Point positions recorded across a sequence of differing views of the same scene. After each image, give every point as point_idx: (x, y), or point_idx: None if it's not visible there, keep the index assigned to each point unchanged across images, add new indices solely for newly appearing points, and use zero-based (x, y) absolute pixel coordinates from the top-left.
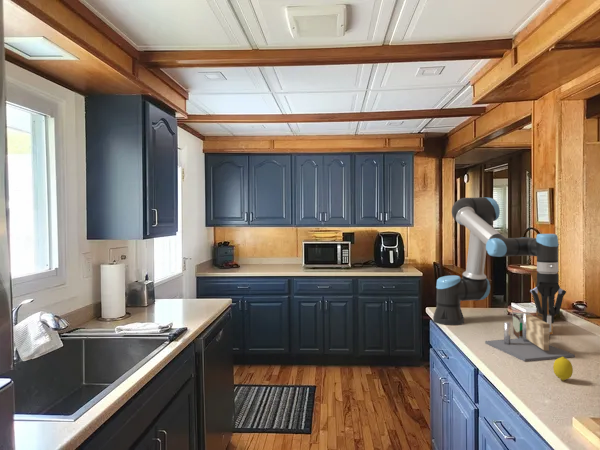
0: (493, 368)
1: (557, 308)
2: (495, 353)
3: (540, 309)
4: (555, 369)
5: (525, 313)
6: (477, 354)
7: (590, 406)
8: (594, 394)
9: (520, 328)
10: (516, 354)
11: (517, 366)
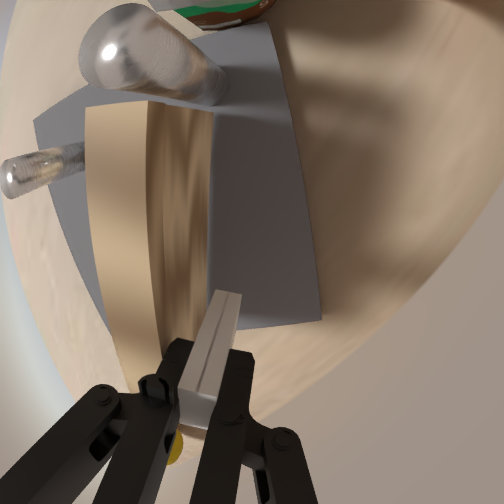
0: (51, 348)
1: (264, 501)
2: (48, 247)
3: (102, 448)
4: None
5: (93, 72)
6: (15, 253)
7: (174, 463)
8: (199, 454)
9: (185, 12)
10: (94, 296)
11: (93, 353)
